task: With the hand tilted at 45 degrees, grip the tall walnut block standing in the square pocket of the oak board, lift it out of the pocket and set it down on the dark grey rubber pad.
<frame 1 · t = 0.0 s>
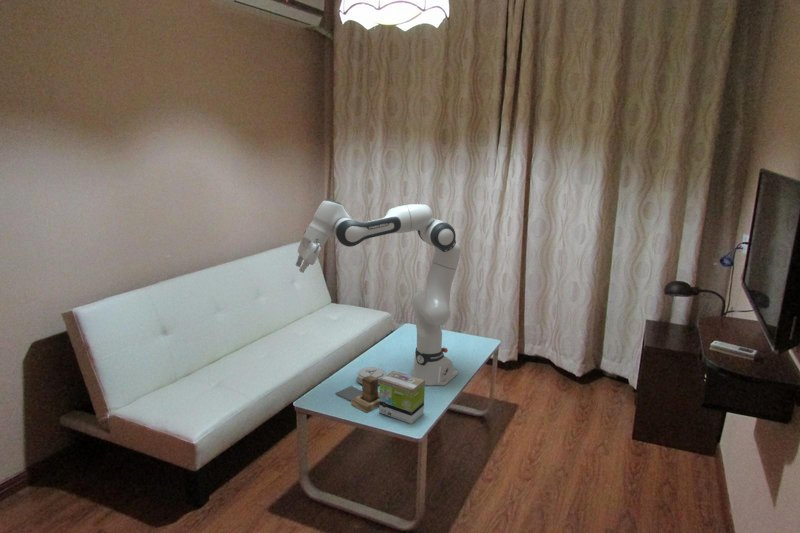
hand: (299, 268, 203), 54 cm above the table, tool tilted 30°, fingers open, 8 cm apart
pocket board: (370, 403, 210), on the table
grey round disc: (371, 381, 231), on the table
rubber pad: (350, 394, 218), on the table
walnut block: (370, 391, 209), in the pocket board
tea box: (401, 414, 203), on the table
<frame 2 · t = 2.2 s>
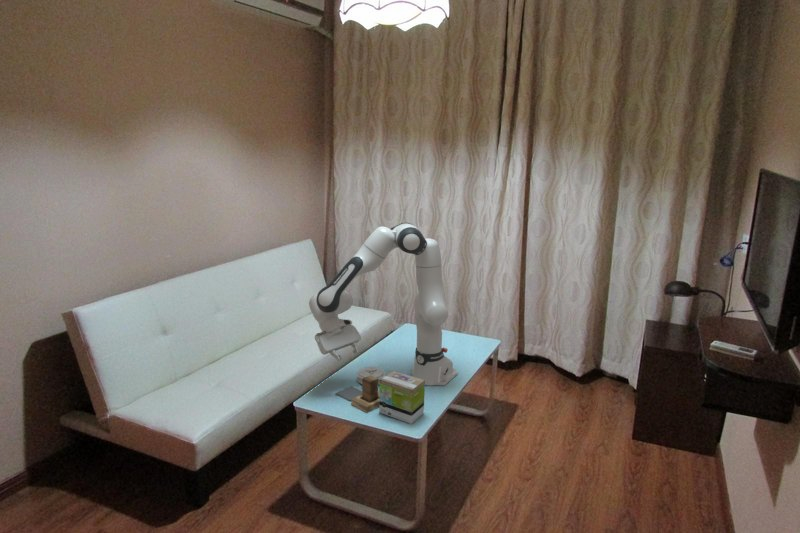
hand: (348, 356, 215), 16 cm above the table, tool tilted 45°, fingers open, 8 cm apart
nothing on the table moved.
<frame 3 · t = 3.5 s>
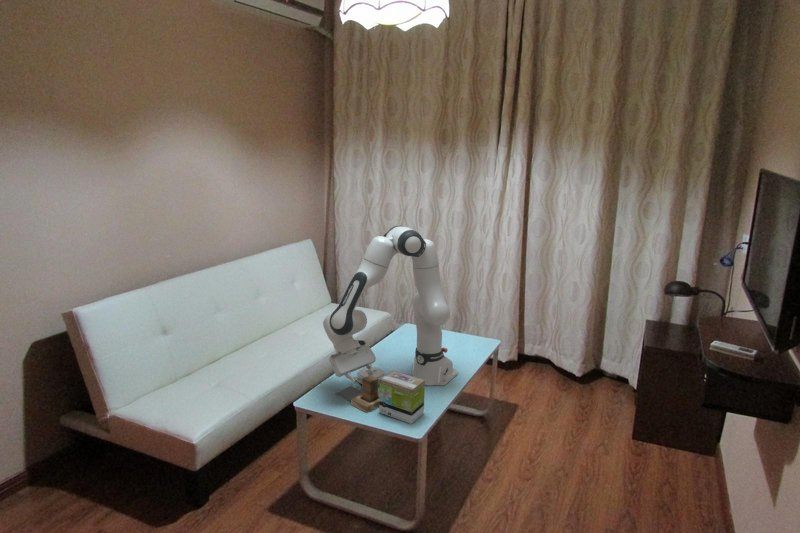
hand: (363, 378, 211), 10 cm above the table, tool tilted 45°, fingers open, 8 cm apart
nothing on the table moved.
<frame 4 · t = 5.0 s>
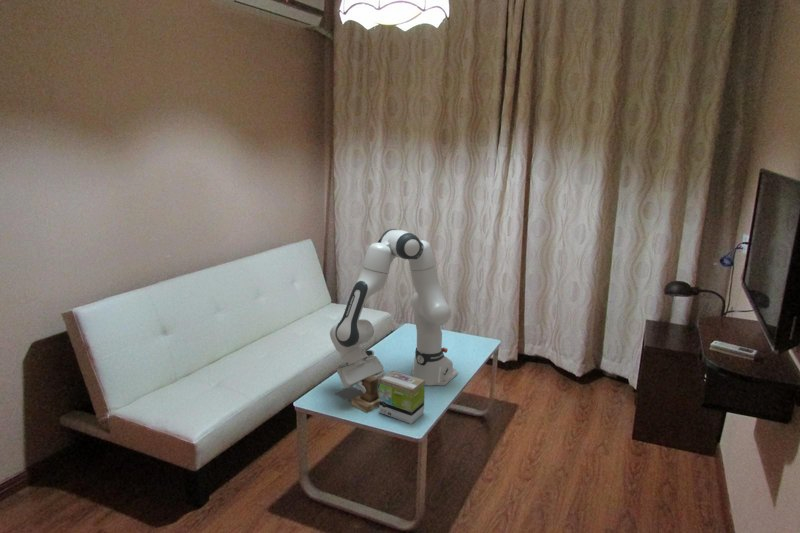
hand: (371, 389, 209), 6 cm above the table, tool tilted 45°, fingers closed on walnut block, 4 cm apart
walnut block: (370, 391, 209), in the pocket board, touching gripper
everything else where it was.
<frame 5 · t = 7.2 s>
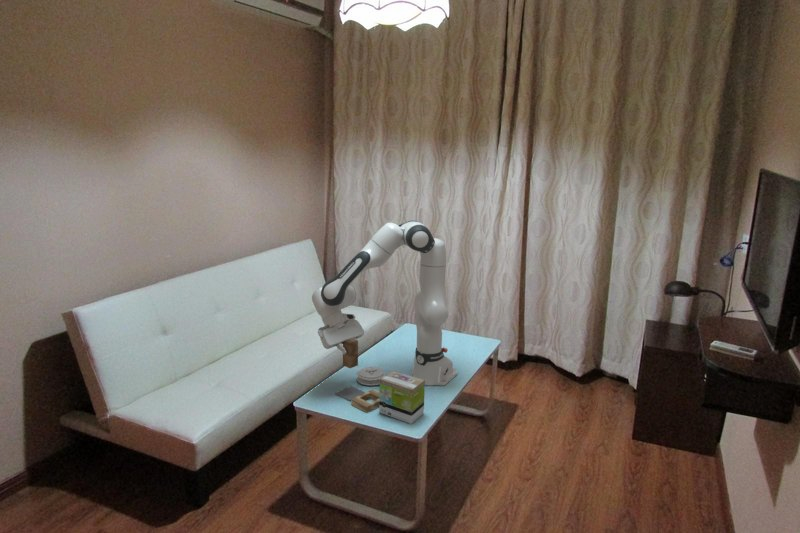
hand: (351, 351, 213), 19 cm above the table, tool tilted 45°, fingers closed on walnut block, 4 cm apart
walnut block: (350, 352, 213), point 18 cm above the table, touching gripper
everything else where it was.
when the fingers open (8 cm above the table, at t = 9.6 s): walnut block drops 1 cm, resting on rubber pad.
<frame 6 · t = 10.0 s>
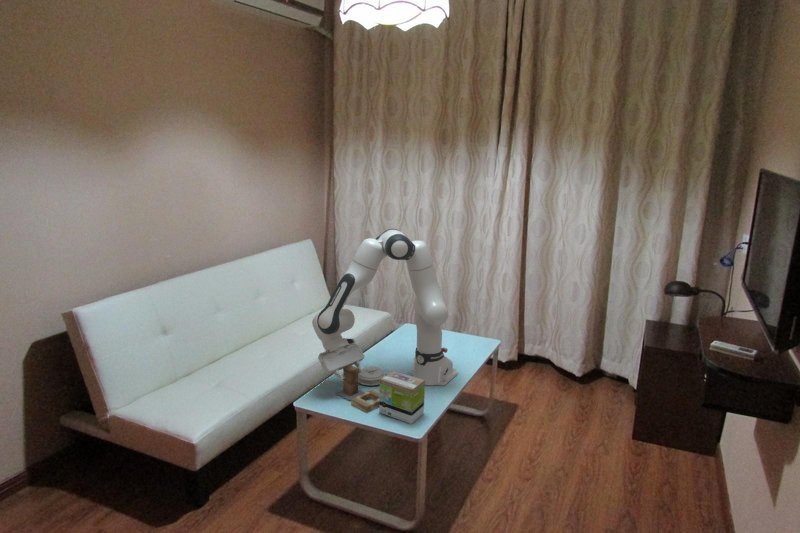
hand: (351, 376, 216), 8 cm above the table, tool tilted 45°, fingers open, 8 cm apart
walnut block: (350, 380, 217), on the rubber pad, point 6 cm above the table
everything else where it was.
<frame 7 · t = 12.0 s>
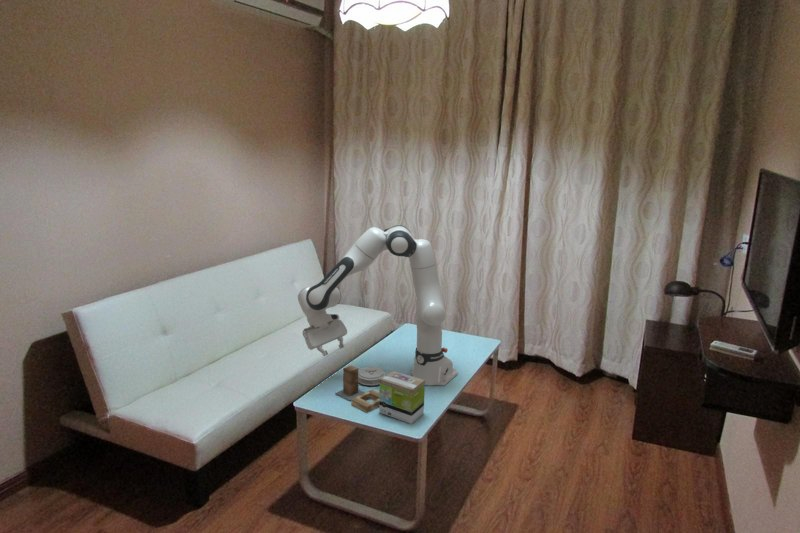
hand: (334, 351, 222), 16 cm above the table, tool tilted 35°, fingers open, 8 cm apart
nothing on the table moved.
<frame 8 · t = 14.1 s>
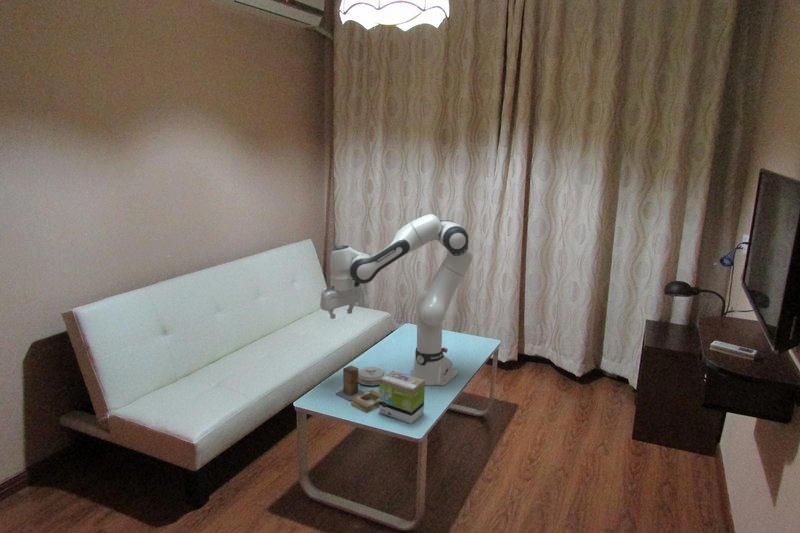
hand: (341, 315, 220), 31 cm above the table, tool pointing down, fingers open, 8 cm apart
nothing on the table moved.
at the end: walnut block inside the target area on the rubber pad (0.1 cm from its centre), point 6.1 cm above the rubber pad's base; walnut block tilted 0°; walnut block touching rubber pad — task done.
